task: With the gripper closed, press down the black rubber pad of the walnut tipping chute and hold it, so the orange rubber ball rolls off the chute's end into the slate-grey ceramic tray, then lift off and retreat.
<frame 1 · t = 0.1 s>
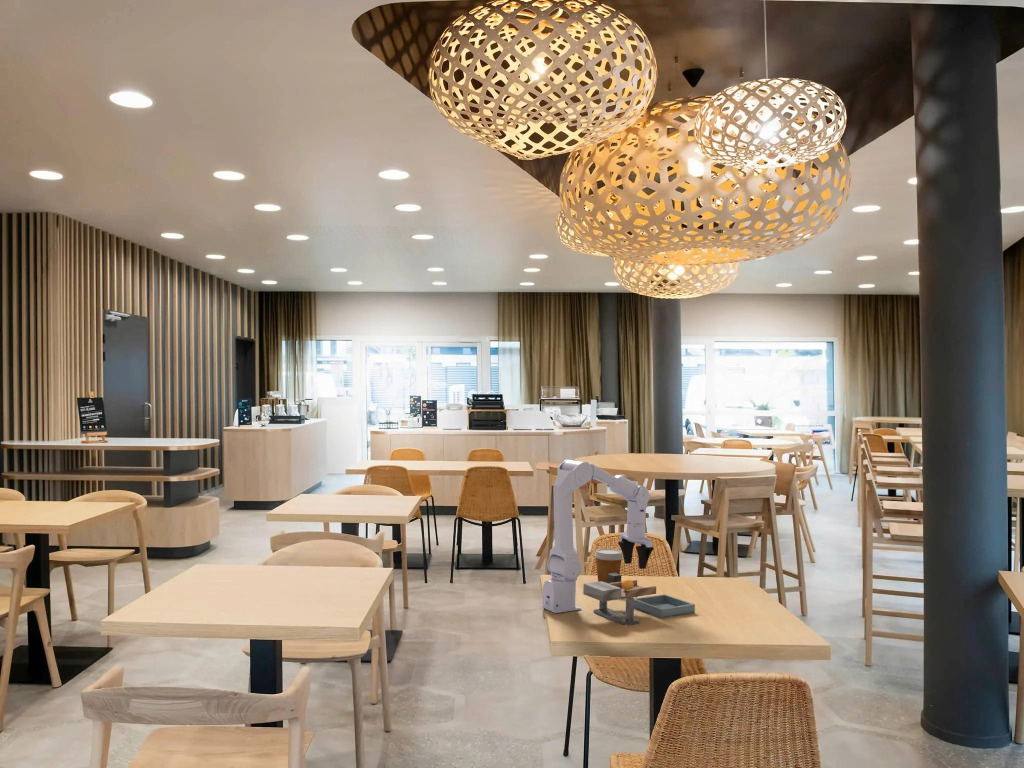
hand: (635, 565, 248), 10 cm above the table, fingers open, 7 cm apart
ball: (627, 584, 228), point 9 cm above the table, touching tipping chute
tipping chute: (611, 585, 230), point 8 cm above the table, hinge at 0.0°, touching ball
disposable coffee cup: (607, 588, 261), on the table
chute stand: (615, 617, 225), on the table
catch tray: (663, 610, 235), on the table
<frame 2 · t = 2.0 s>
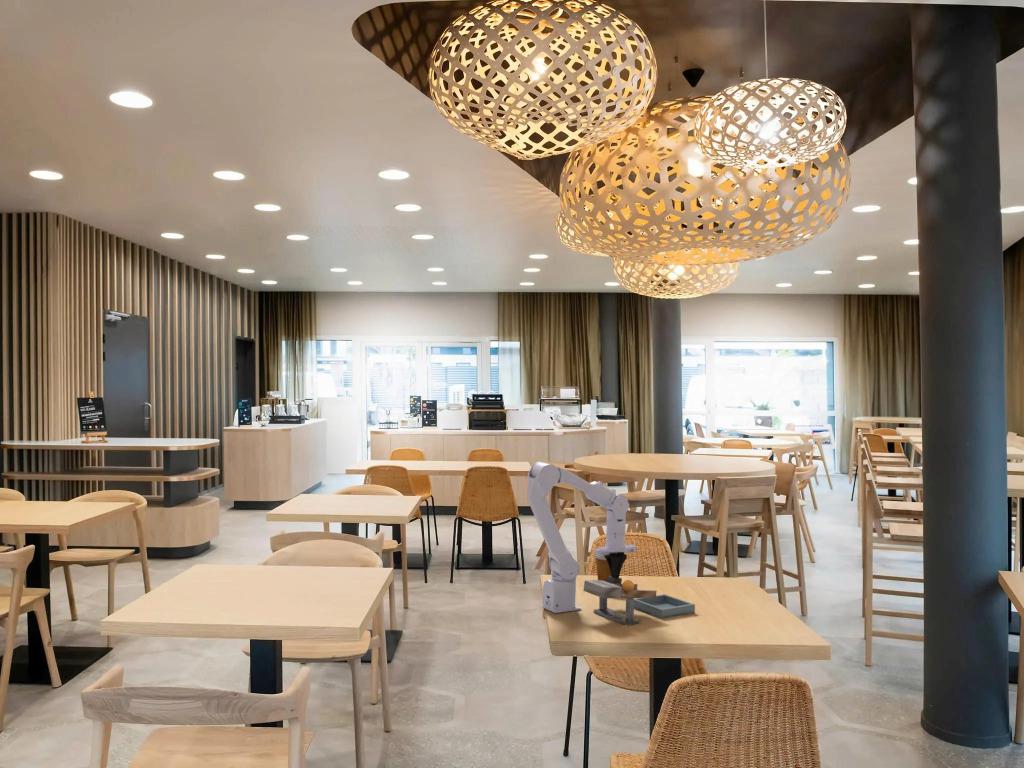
hand: (615, 577, 239), 8 cm above the table, fingers closed, pressing on tipping chute
ball: (628, 586, 228), point 9 cm above the table, tilted 8°, touching tipping chute
tipping chute: (611, 586, 230), point 8 cm above the table, hinge at 6.6°, touching ball, gripper
everything else where it was.
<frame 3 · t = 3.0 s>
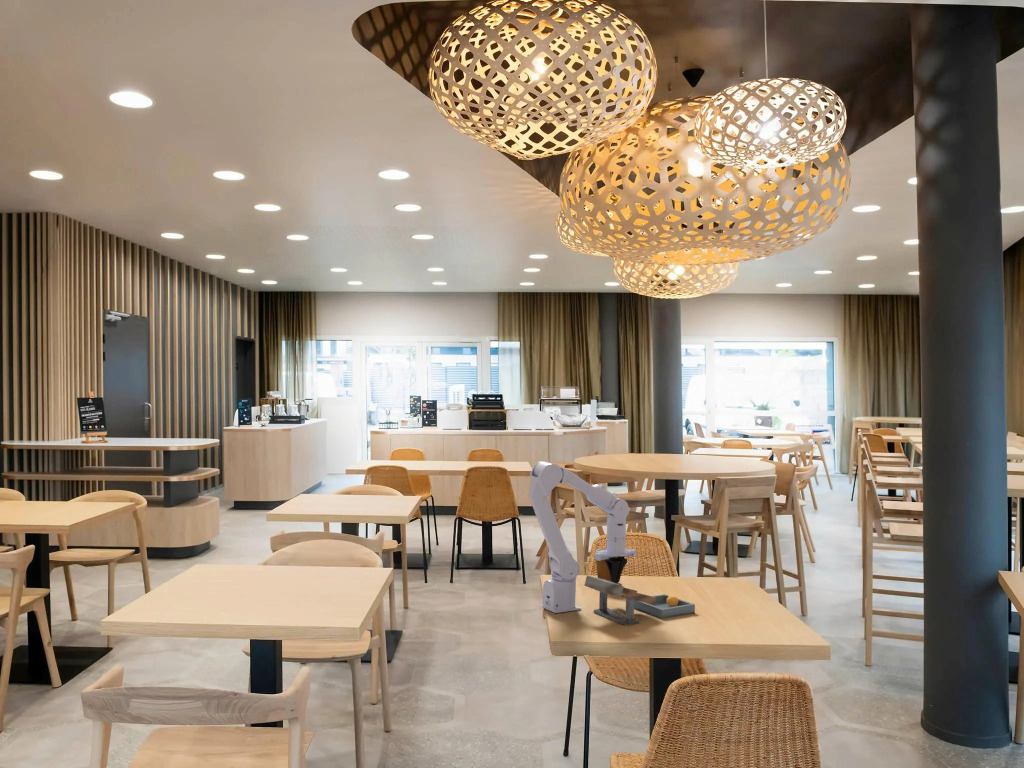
hand: (615, 581, 239), 7 cm above the table, fingers closed
ball: (672, 601, 237), point 2 cm above the table, tilted 98°, touching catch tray
tipping chute: (612, 587, 230), point 8 cm above the table, hinge at 16.5°, touching gripper
everything else where it was.
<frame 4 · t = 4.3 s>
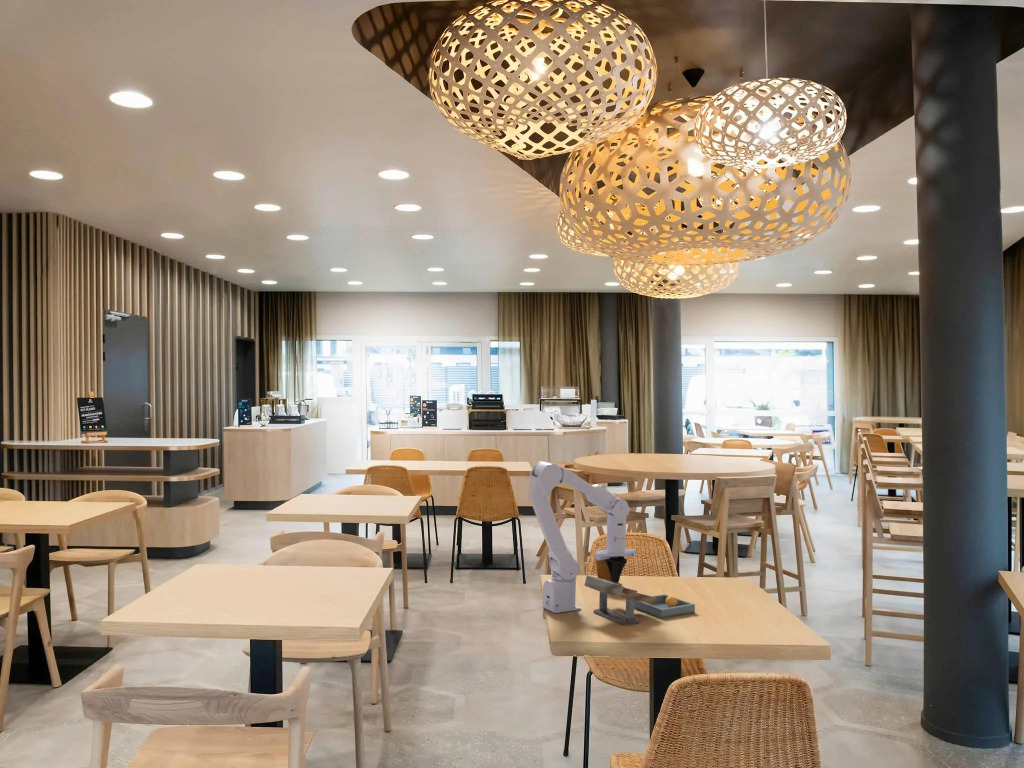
hand: (615, 581, 239), 7 cm above the table, fingers closed
ball: (671, 601, 237), point 2 cm above the table, tilted 110°, touching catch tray
everything else where it was.
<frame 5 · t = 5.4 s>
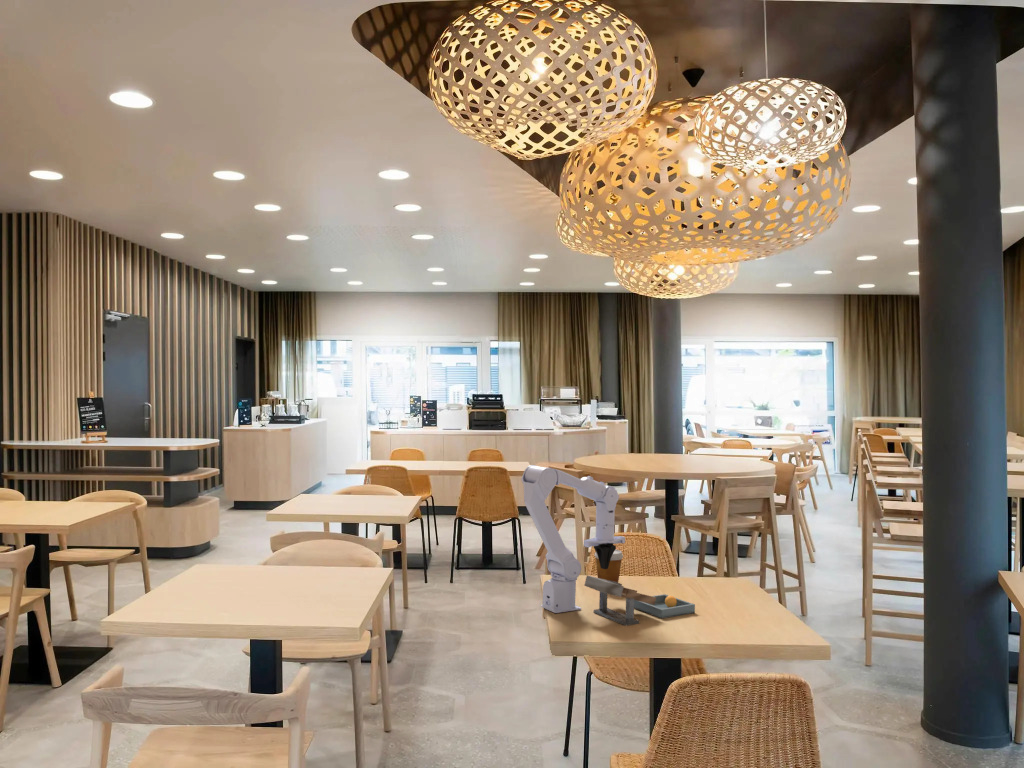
hand: (604, 568, 242), 10 cm above the table, fingers closed
ball: (670, 601, 236), point 2 cm above the table, tilted 121°, touching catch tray
tipping chute: (612, 587, 230), point 8 cm above the table, hinge at 16.5°
everything else where it was.
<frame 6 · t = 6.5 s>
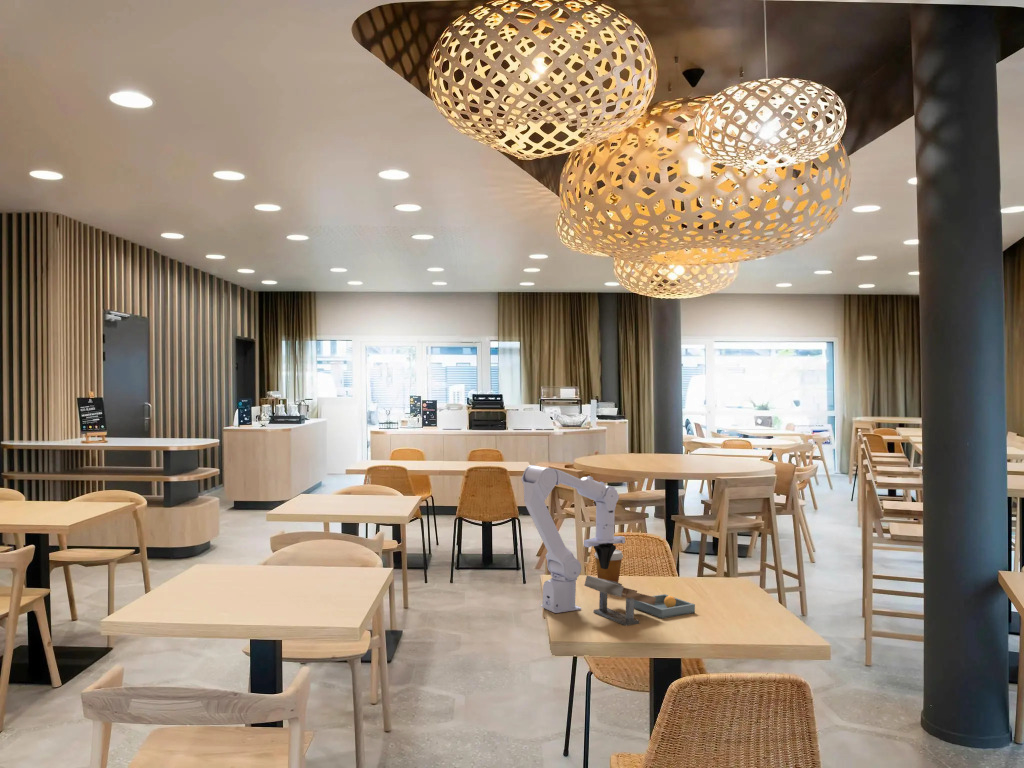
hand: (604, 568, 242), 10 cm above the table, fingers closed
ball: (669, 601, 236), point 2 cm above the table, tilted 131°, touching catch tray
everything else where it was.
at the end: ball inside the target area on the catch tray (2.6 cm from its centre), point 2.1 cm above the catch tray's base; ball moved 18.0 cm from its start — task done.
